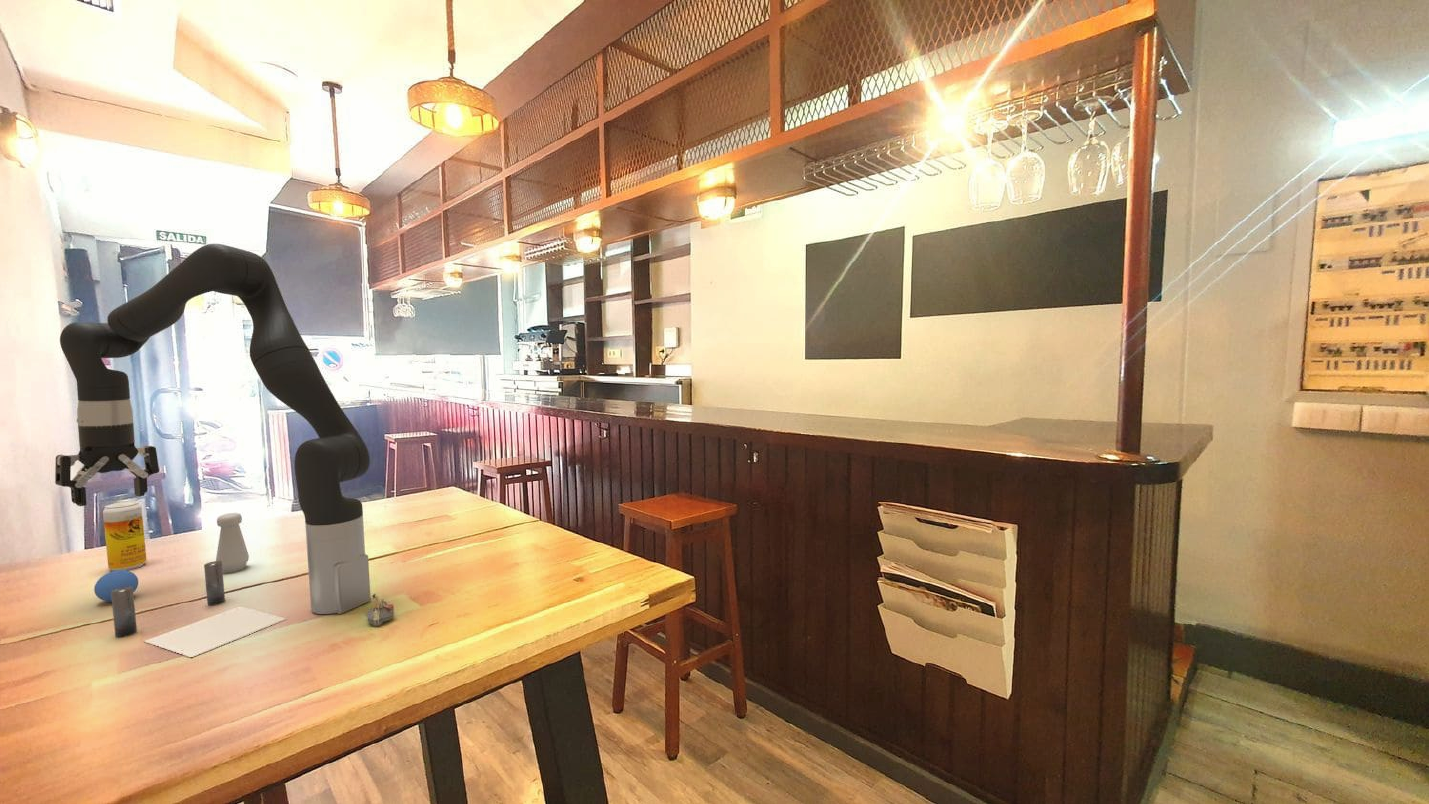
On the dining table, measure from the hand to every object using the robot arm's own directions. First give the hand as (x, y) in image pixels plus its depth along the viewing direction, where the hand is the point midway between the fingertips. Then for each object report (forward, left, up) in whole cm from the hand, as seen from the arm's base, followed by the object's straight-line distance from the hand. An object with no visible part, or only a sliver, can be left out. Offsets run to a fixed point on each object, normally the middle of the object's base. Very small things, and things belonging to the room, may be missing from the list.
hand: (111, 500), depth 112 cm
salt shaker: (-7, -16, -20) cm, 26 cm away
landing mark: (-38, +2, -20) cm, 43 cm away
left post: (-24, +9, -20) cm, 33 cm away
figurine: (-62, -11, -20) cm, 66 cm away
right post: (-24, -4, -20) cm, 32 cm away
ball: (-4, +2, -17) cm, 17 cm away
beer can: (+18, -8, -20) cm, 28 cm away
